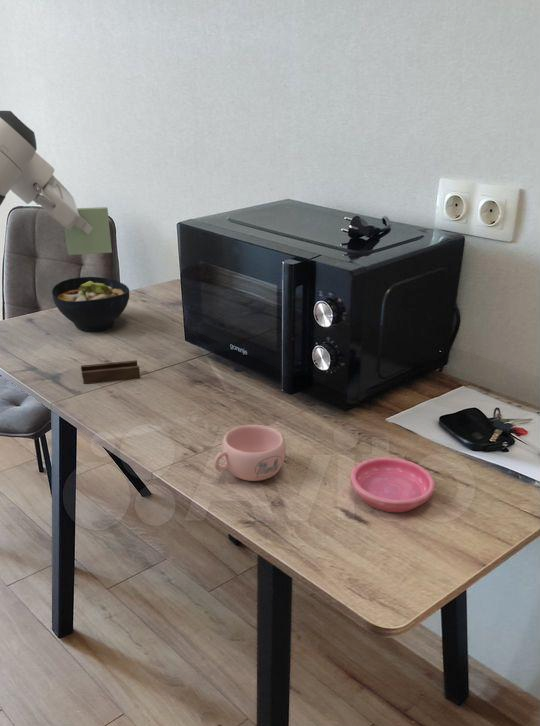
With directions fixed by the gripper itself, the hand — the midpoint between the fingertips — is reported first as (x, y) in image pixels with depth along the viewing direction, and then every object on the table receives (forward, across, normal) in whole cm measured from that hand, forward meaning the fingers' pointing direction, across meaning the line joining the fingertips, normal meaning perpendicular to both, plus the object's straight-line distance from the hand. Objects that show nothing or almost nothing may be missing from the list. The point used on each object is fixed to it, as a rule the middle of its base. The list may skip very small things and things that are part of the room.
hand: (90, 229), depth 146 cm
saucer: (+42, -76, -8) cm, 87 cm away
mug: (+28, -65, +5) cm, 71 cm away
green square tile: (+3, 0, +4) cm, 5 cm away
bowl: (+16, +7, +17) cm, 24 cm away
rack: (+16, -23, +17) cm, 33 cm away
